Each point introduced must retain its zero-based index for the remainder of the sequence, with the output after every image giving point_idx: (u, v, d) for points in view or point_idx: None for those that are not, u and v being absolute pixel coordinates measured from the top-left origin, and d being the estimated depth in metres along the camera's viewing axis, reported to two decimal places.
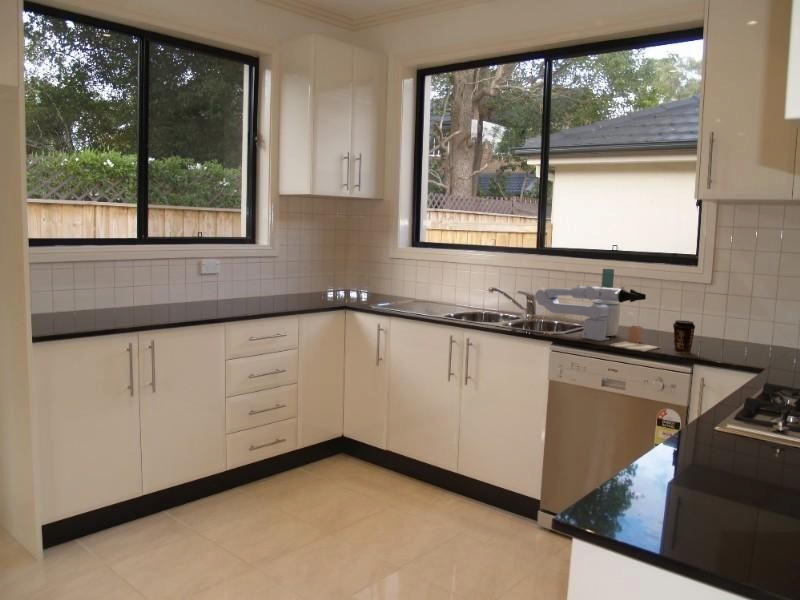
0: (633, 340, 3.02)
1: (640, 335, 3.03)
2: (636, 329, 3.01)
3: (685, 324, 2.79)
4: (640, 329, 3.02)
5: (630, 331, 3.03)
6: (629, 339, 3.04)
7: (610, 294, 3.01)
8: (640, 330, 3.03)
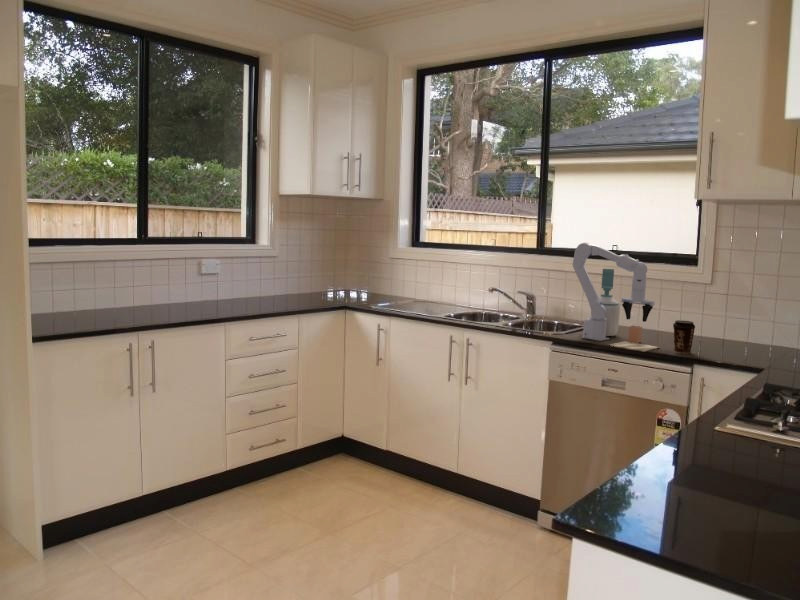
0: (633, 340, 3.02)
1: (640, 335, 3.03)
2: (636, 329, 3.01)
3: (685, 324, 2.79)
4: (640, 329, 3.02)
5: (630, 331, 3.03)
6: (629, 339, 3.04)
7: (644, 292, 3.00)
8: (640, 330, 3.03)
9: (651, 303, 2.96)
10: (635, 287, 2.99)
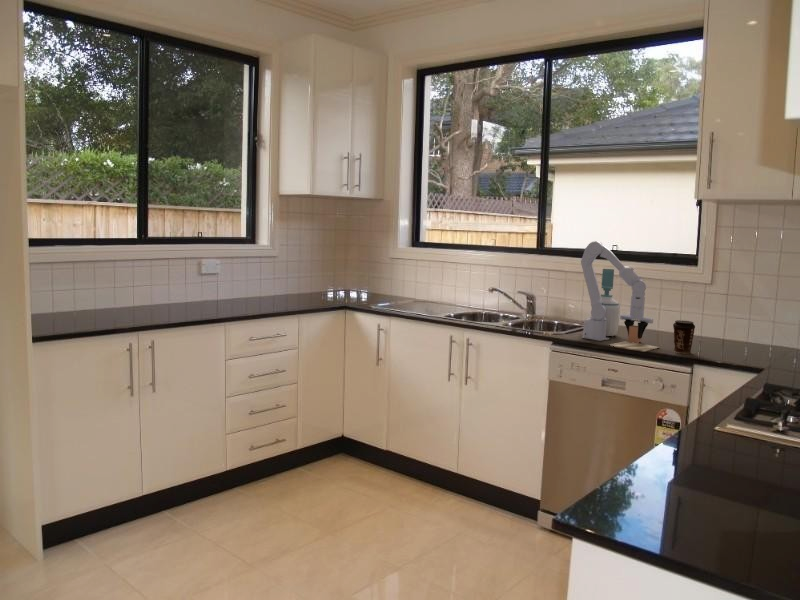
0: (633, 340, 3.02)
1: None
2: (636, 329, 3.01)
3: (685, 324, 2.79)
4: None
5: (630, 331, 3.03)
6: (629, 339, 3.04)
7: (643, 309, 3.00)
8: None
9: (650, 321, 2.97)
10: (634, 304, 3.00)
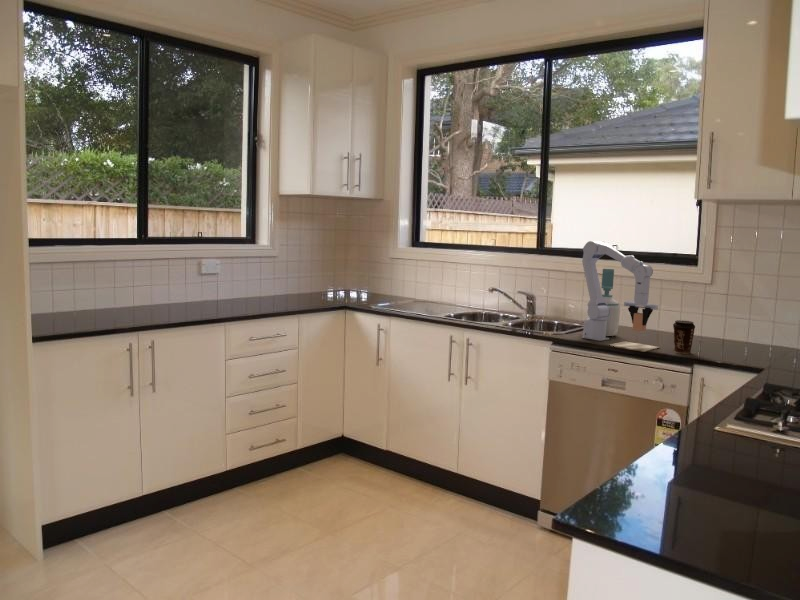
0: (638, 328, 2.92)
1: None
2: (641, 316, 2.91)
3: (685, 324, 2.79)
4: None
5: (635, 318, 2.93)
6: (633, 327, 2.94)
7: (648, 295, 2.90)
8: None
9: (655, 307, 2.87)
10: (636, 290, 2.91)
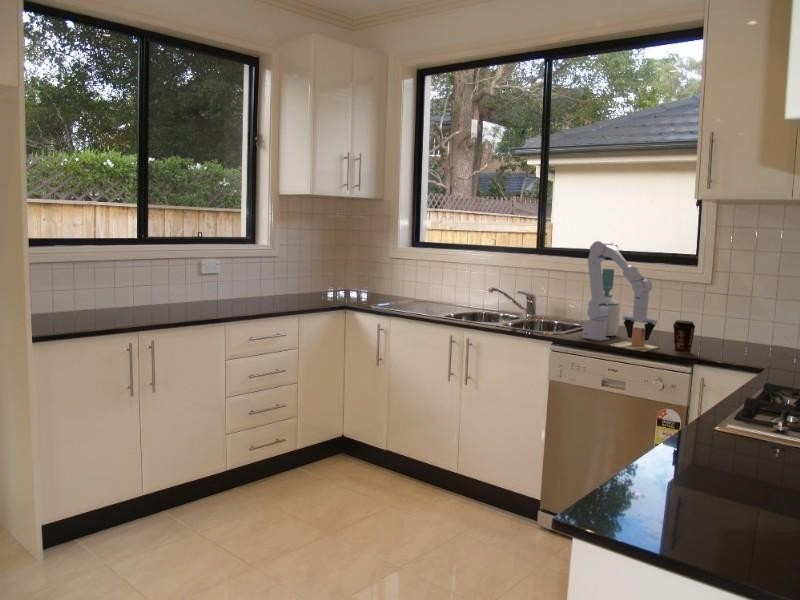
0: (636, 342, 2.93)
1: (644, 337, 2.94)
2: (639, 331, 2.92)
3: (685, 324, 2.79)
4: (643, 331, 2.93)
5: (633, 333, 2.94)
6: (632, 341, 2.94)
7: (646, 310, 2.91)
8: (644, 332, 2.93)
9: (653, 322, 2.88)
10: (634, 304, 2.92)
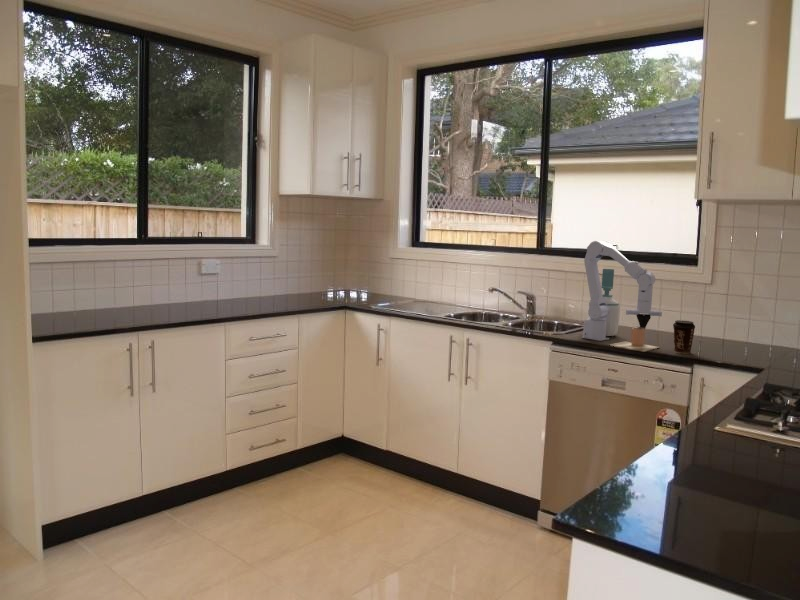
0: (636, 343, 2.93)
1: (643, 337, 2.93)
2: (639, 331, 2.91)
3: (685, 324, 2.79)
4: (643, 330, 2.92)
5: (633, 333, 2.93)
6: (632, 342, 2.94)
7: None
8: (643, 332, 2.93)
9: (660, 313, 2.93)
10: (639, 298, 2.93)
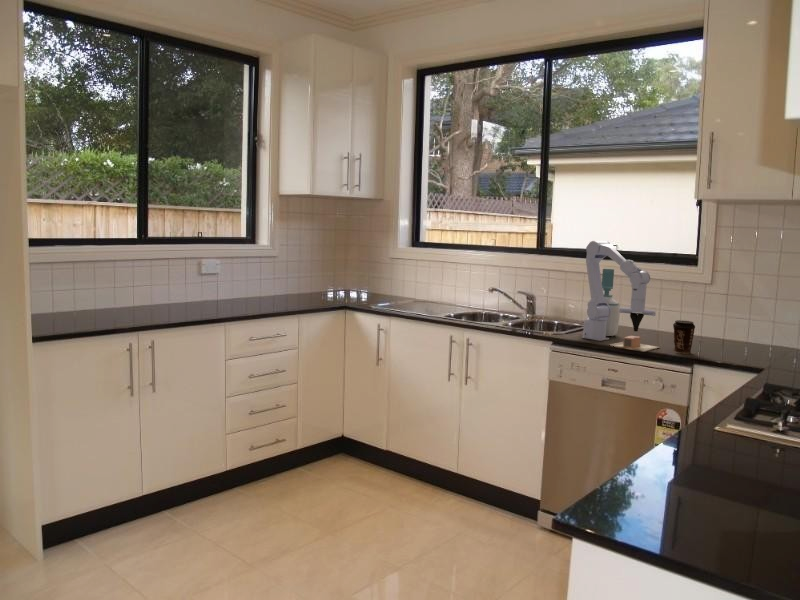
0: None
1: (636, 340, 2.89)
2: None
3: (685, 324, 2.79)
4: (633, 342, 2.87)
5: None
6: None
7: None
8: (634, 341, 2.88)
9: (654, 313, 2.87)
10: (632, 296, 2.90)
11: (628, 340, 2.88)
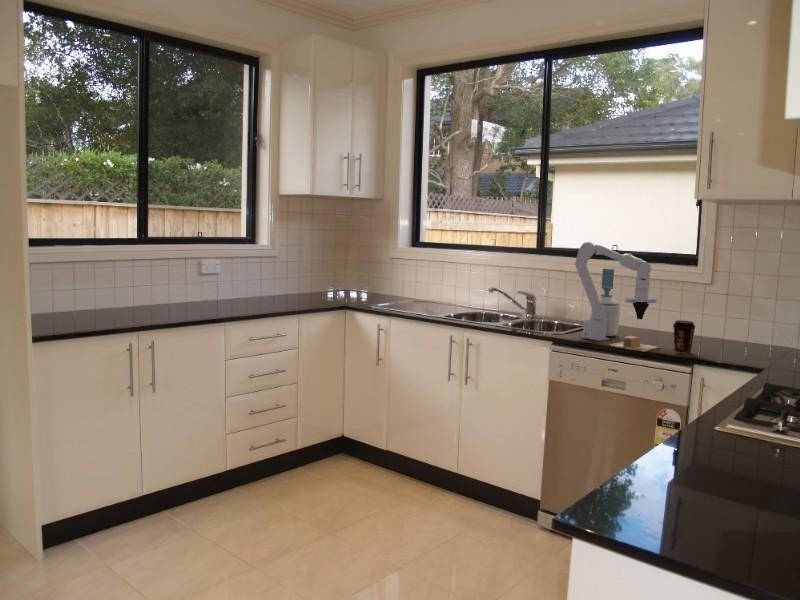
0: None
1: (636, 340, 2.89)
2: None
3: (685, 324, 2.79)
4: (633, 342, 2.87)
5: None
6: None
7: None
8: (634, 341, 2.88)
9: (655, 300, 3.04)
10: (639, 286, 3.00)
11: (628, 340, 2.88)
